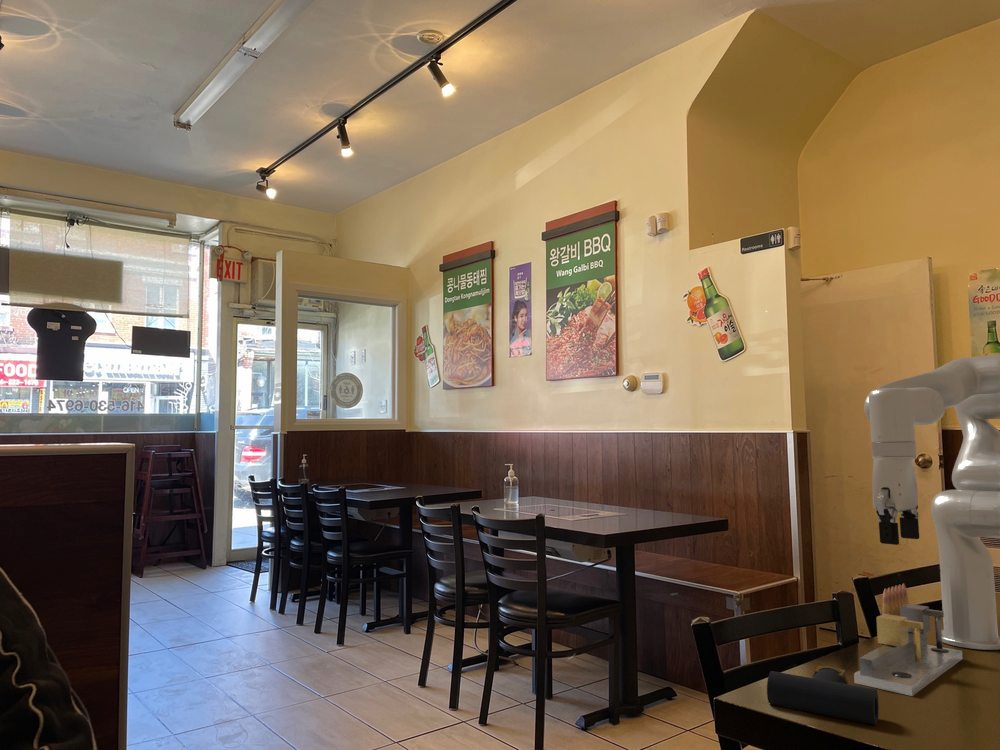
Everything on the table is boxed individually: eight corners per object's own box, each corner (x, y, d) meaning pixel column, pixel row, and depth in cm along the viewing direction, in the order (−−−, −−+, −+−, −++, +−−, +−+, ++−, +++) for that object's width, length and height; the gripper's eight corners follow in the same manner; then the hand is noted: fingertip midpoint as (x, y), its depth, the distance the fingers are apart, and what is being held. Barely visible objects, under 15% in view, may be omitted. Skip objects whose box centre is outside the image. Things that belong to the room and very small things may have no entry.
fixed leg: (908, 640, 142) (906, 603, 143) (948, 647, 137) (946, 609, 138) (902, 644, 140) (899, 606, 140) (942, 651, 135) (940, 612, 135)
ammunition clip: (891, 650, 142) (888, 589, 144) (882, 648, 144) (878, 588, 145) (913, 641, 149) (910, 583, 150) (904, 639, 150) (900, 582, 152)
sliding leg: (886, 653, 133) (884, 613, 134) (927, 660, 128) (925, 620, 129) (878, 657, 131) (876, 617, 131) (920, 665, 126) (918, 623, 126)
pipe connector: (784, 656, 121) (883, 672, 112) (785, 688, 120) (885, 706, 112) (766, 674, 112) (872, 693, 103) (767, 709, 111) (874, 731, 102)
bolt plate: (910, 649, 143) (909, 627, 143) (962, 659, 136) (961, 635, 137) (854, 683, 122) (853, 656, 123) (912, 696, 116) (910, 668, 116)
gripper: (891, 450, 146) (897, 534, 144) (854, 452, 135) (860, 544, 133) (931, 450, 140) (938, 538, 138) (896, 452, 129) (903, 548, 127)
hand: (900, 541), depth 136 cm, fingers open, 9 cm apart
